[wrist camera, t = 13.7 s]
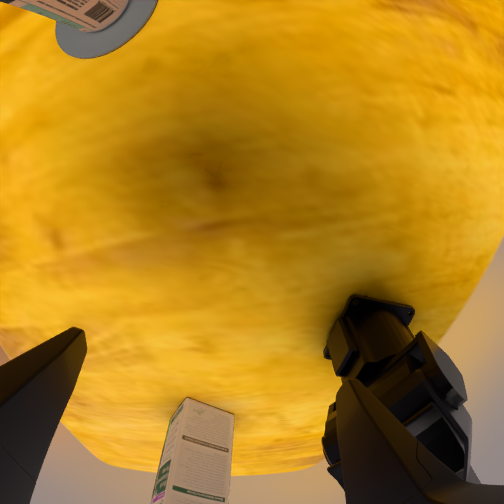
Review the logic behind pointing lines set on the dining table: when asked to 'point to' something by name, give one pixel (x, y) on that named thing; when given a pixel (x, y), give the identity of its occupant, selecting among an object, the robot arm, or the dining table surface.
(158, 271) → the dining table surface
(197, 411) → the syrup box
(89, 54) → the coaster
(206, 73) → the dining table surface
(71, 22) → the beer can
